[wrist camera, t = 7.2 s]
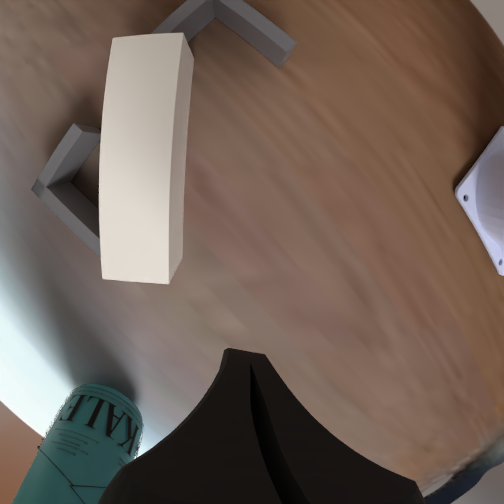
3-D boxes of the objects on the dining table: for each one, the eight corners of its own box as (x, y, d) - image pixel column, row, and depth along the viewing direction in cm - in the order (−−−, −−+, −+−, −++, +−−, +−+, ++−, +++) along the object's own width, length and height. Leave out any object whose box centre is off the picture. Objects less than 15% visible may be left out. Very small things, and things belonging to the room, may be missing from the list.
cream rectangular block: (194, 60, 16) (183, 32, 12) (182, 256, 19) (168, 284, 15) (138, 61, 16) (113, 37, 12) (128, 253, 19) (102, 279, 15)
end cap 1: (164, 188, 18) (150, 193, 15) (119, 244, 19) (101, 258, 16) (96, 127, 17) (73, 123, 14) (56, 184, 17) (31, 189, 15)
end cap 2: (288, 59, 16) (297, 42, 13) (234, 110, 17) (234, 101, 14) (215, 3, 15) (212, -20, 12) (161, 51, 16) (149, 34, 13)
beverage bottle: (98, 427, 23) (33, 614, 4) (62, 370, 21) (-49, 568, 2) (162, 425, 23) (123, 648, 4) (130, 363, 21) (35, 624, 2)
